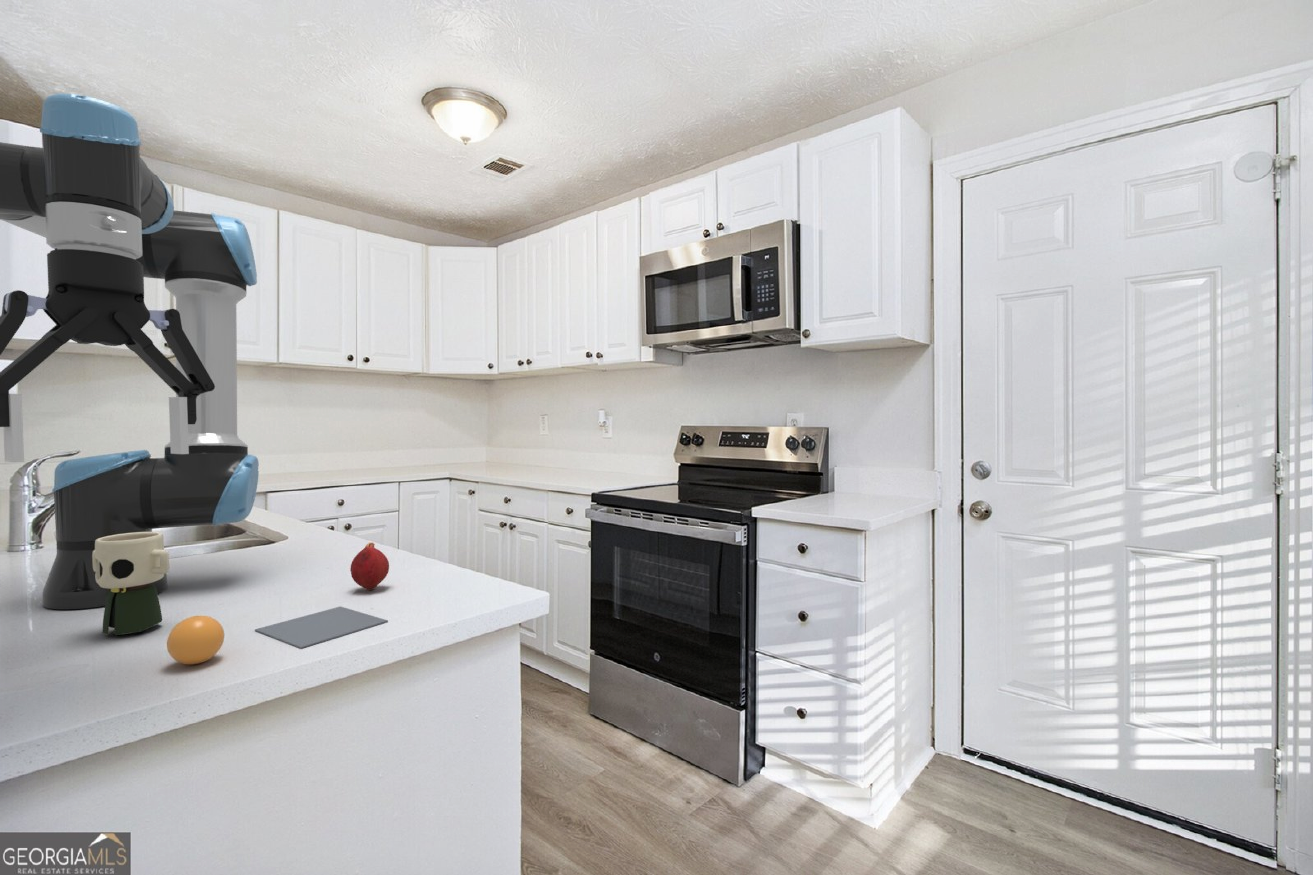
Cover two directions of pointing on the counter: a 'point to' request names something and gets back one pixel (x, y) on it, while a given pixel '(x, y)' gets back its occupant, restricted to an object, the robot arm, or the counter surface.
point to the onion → (369, 567)
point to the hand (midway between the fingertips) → (104, 457)
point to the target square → (320, 626)
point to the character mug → (130, 579)
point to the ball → (195, 640)
